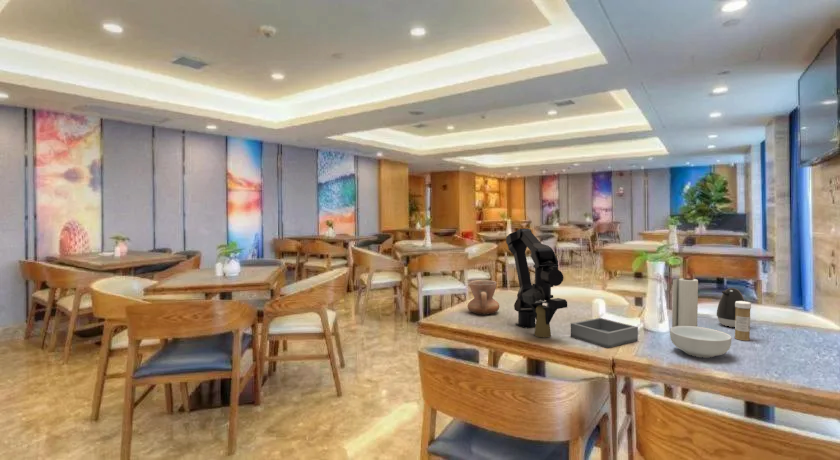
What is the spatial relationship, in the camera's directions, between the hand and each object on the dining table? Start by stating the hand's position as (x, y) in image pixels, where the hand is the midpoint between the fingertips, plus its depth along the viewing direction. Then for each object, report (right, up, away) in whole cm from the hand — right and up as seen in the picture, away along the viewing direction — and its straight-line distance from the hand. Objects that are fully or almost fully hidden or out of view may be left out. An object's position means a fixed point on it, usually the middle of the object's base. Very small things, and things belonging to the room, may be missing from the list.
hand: (542, 323), depth 165 cm
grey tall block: (+51, -5, -3) cm, 52 cm away
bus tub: (+21, -5, -4) cm, 22 cm away
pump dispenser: (+78, -4, +11) cm, 79 cm away
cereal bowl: (+45, -6, -22) cm, 50 cm away
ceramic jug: (-17, -4, +38) cm, 42 cm away
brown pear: (0, -5, 0) cm, 5 cm away
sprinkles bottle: (+69, -5, -6) cm, 70 cm away
